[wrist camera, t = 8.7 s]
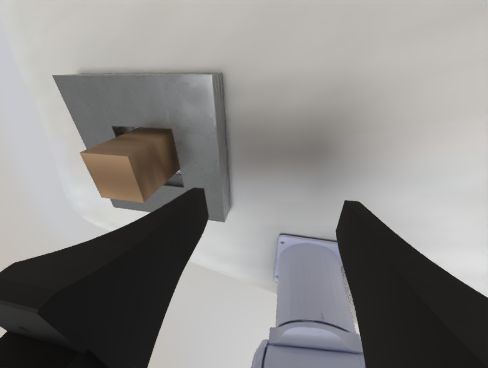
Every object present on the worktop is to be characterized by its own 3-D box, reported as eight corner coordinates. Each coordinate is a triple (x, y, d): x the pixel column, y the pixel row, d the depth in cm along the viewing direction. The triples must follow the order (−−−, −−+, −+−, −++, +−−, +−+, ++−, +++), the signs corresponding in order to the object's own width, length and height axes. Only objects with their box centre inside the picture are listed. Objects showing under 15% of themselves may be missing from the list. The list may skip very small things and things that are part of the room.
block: (184, 164, 21) (144, 202, 15) (151, 161, 22) (101, 197, 16) (177, 128, 19) (127, 156, 13) (141, 126, 20) (79, 152, 14)
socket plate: (230, 207, 23) (224, 222, 21) (128, 195, 26) (114, 207, 24) (222, 73, 16) (211, 74, 14) (79, 73, 18) (52, 75, 16)
